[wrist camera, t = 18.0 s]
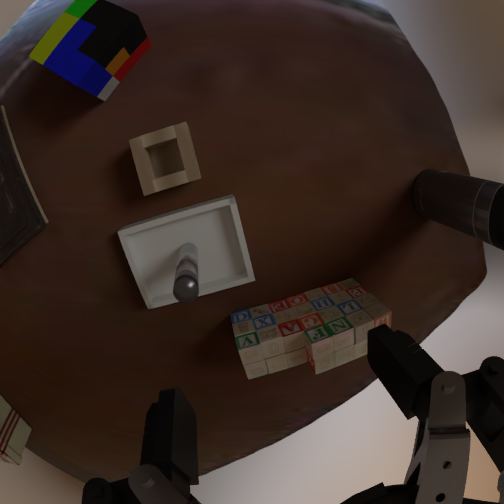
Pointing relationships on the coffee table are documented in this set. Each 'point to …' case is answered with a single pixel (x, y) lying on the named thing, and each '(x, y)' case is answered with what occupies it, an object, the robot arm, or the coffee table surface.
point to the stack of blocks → (308, 329)
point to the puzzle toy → (93, 45)
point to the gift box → (12, 434)
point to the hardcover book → (15, 197)
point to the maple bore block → (165, 158)
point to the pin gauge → (186, 274)
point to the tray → (188, 231)
